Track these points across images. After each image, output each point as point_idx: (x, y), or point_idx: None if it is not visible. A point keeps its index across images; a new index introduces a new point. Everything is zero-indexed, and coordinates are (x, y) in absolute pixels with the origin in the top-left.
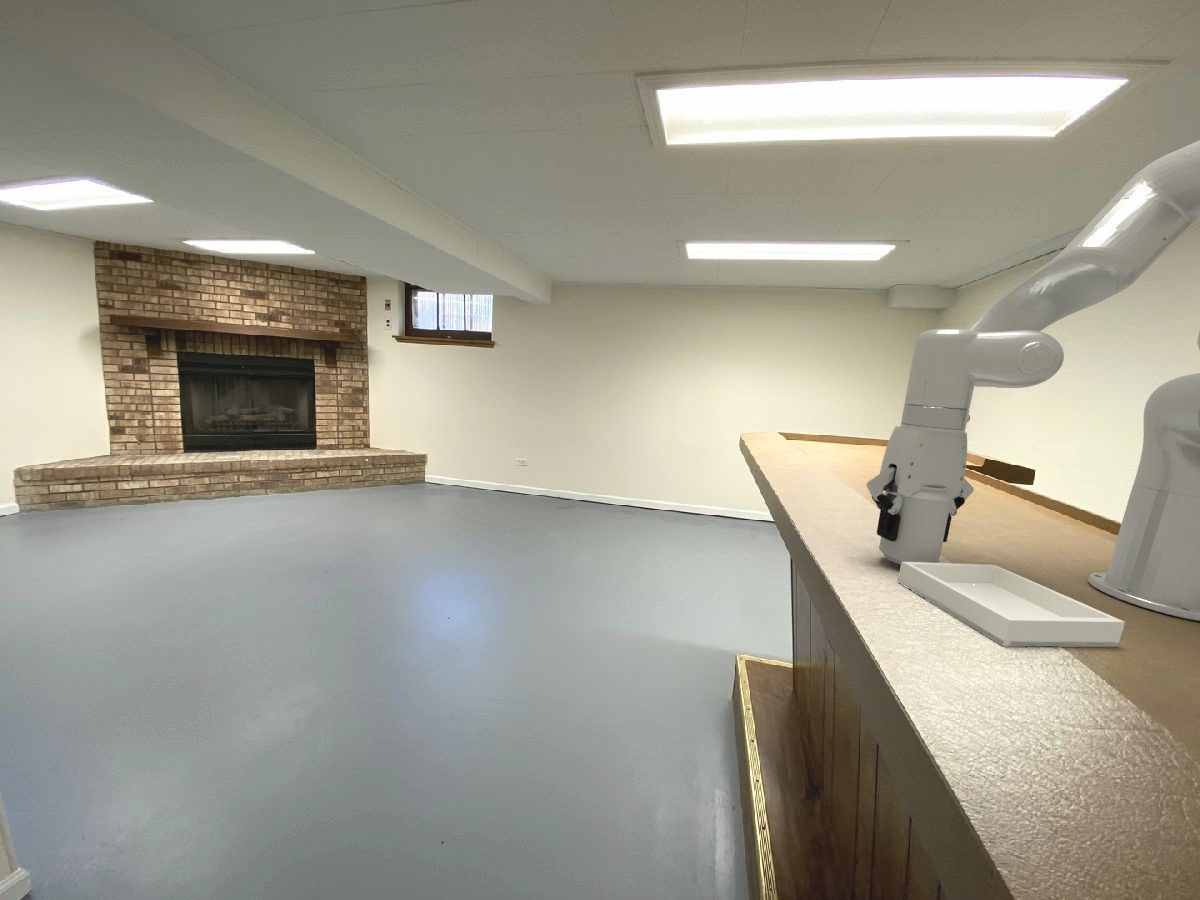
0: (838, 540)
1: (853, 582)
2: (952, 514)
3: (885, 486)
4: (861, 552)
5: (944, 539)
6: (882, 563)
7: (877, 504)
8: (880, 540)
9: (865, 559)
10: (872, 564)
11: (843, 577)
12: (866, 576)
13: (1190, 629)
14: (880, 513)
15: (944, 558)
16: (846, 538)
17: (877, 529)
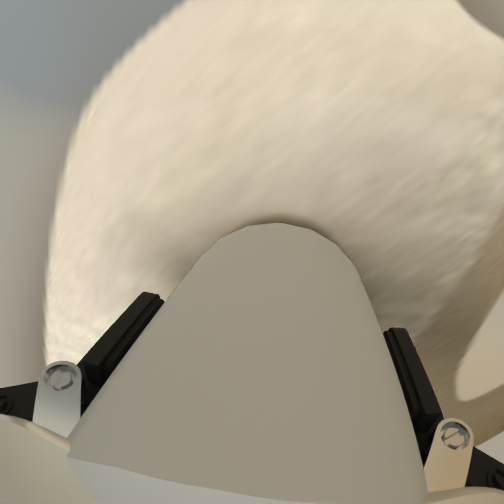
0: (209, 60)
1: (75, 332)
2: None
3: (19, 447)
4: (209, 173)
5: None
6: None
7: (34, 387)
8: (205, 254)
9: (176, 231)
10: (172, 266)
11: (65, 313)
12: (110, 319)
13: (485, 441)
14: (78, 366)
15: (481, 243)
16: (266, 37)
17: (136, 300)
